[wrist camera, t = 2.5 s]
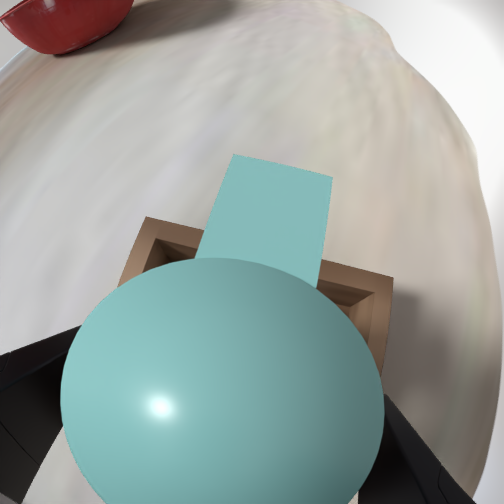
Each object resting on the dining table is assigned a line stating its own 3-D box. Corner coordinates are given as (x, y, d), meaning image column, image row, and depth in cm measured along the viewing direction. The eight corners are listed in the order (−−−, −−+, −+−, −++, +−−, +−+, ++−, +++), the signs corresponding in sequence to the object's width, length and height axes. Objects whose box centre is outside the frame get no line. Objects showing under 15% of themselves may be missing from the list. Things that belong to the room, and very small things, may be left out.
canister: (268, 428, 13) (328, 563, 2) (182, 406, 13) (48, 483, 2) (296, 315, 16) (407, 198, 5) (214, 295, 16) (158, 141, 5)
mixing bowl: (7, 103, 26) (-28, 37, 12) (37, 46, 36) (20, -1, 22) (166, 31, 32) (156, -51, 17) (147, 0, 41) (140, -51, 27)
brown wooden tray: (313, 489, 12) (334, 521, 8) (111, 436, 13) (75, 452, 9) (360, 298, 17) (393, 277, 13) (165, 250, 18) (145, 216, 14)
